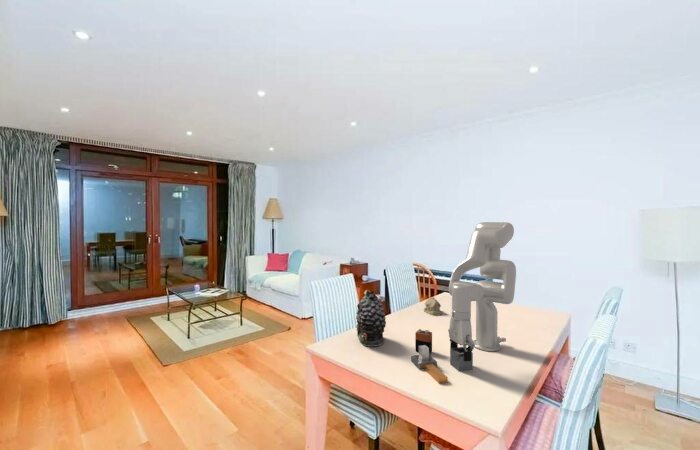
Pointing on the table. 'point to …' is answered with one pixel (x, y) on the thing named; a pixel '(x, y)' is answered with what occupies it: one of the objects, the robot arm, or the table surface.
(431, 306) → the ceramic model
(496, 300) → the robot arm
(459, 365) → the hollow square tube
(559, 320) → the table surface
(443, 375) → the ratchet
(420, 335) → the battery
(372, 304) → the dark pine cone
